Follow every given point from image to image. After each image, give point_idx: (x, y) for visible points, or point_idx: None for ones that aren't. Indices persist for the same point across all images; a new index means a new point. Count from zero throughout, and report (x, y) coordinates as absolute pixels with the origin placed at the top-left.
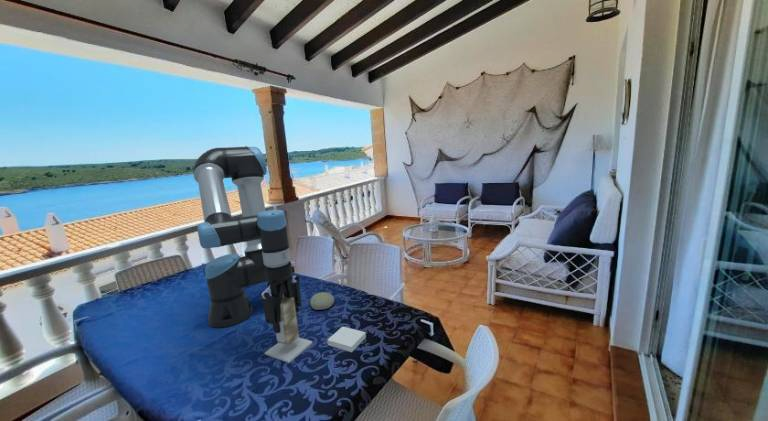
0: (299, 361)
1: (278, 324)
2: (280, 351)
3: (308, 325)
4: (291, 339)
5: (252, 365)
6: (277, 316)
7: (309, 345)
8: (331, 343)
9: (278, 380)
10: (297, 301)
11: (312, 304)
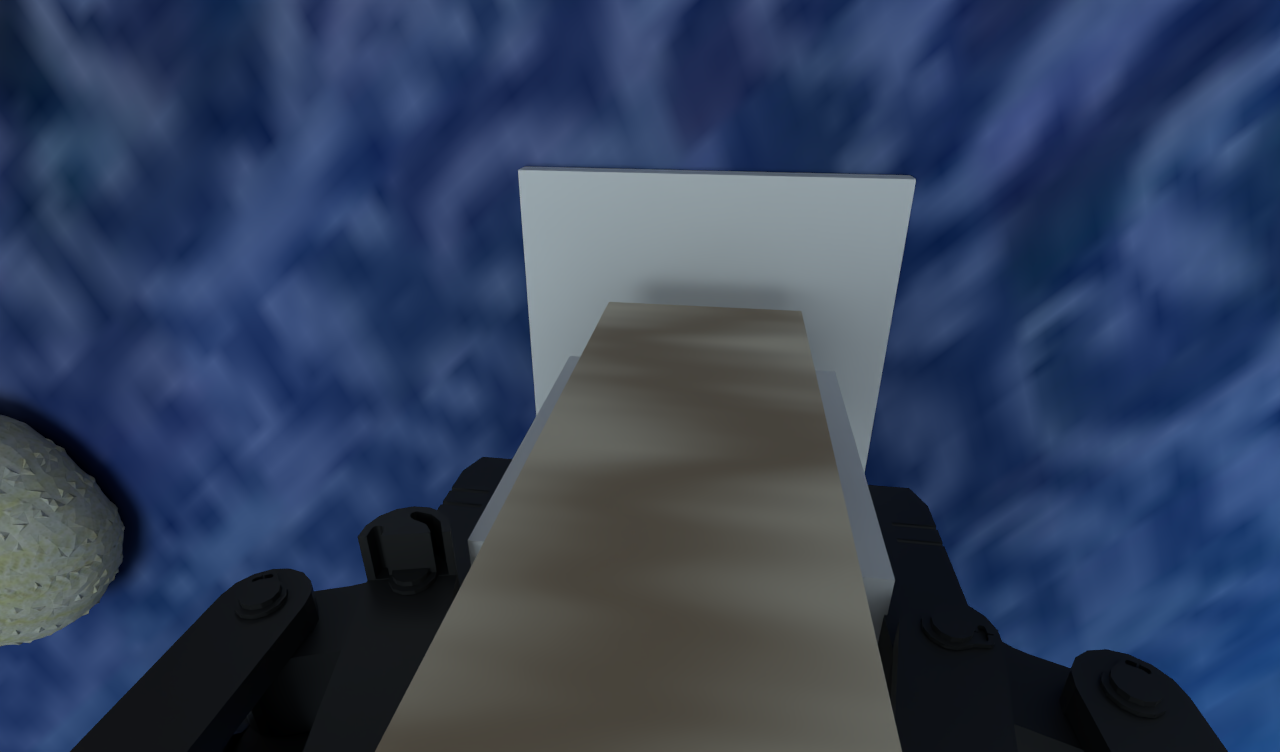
0: (849, 80)
1: (905, 586)
2: None
3: (328, 418)
4: (737, 323)
5: (1021, 497)
6: (1006, 747)
7: (578, 168)
8: None
9: (1211, 77)
10: (236, 711)
11: (87, 572)
